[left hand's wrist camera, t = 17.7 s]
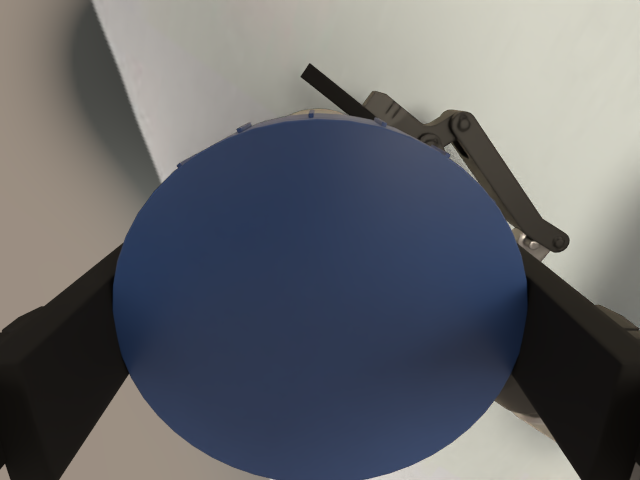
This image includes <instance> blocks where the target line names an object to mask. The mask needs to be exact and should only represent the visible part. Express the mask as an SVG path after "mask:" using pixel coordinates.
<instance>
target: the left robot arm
mask: <svg viewBox="0 0 640 480" xmlns="http://www.w3.org/2000/svg"><path fill="white" fill-rule="evenodd" d="M516 243H517V242H516ZM517 245H518V248H519V251H520V253H521V256H522V261H523V265H524V270H525V275H526V280H527V297H528V310H527V316H526V322H525V328H524V333H523V338H522V343H521V348H520V353H519V355H518V358H517V360H516V363H515V365H514V368H513V370H512V372H511V374H512V376H513V377H514V379H515V380H516V382H517V383H518V385H519V386H520V388H521V389H522V391H523V392H524V394H525V395H526V397H527V398H528V400H529V401H530V403H531V404H532V406H533V407H534V409H535V410H536V412H537V414H538V415H539V417H540V418H541V420H542V421H543V423H544V424H545V426H546V427H547V429H548V430H549V432H550V433H551V435H552V436H553V438H554V439H555V441H556V442H557V444H558V445H559V447H560V448H561V450H562V451H563V453H564V454H565V456H566V457H567V459H568V460H569V462H570V463H571V465H572V466H573V468H574V469H575V471H576V472H577V474H578V476H579V477H580V479H581V480H630V478H631V475H632V472H633V469H634V466H635V463H637V464H638V465H639V466H640V331H639V328H638V327H636V326H635V325H634V324H632V323H631V322H630V321H628V320H627V319H626V318H624V317H623V316H622V315H620V314H617V313H615V312H613V311H611V310H609V309H607V308H605V307H603V306H601V305H594V304H593V303H591V302H590V301H589V300H588V299H586V298H585V297H584V296H583V295H581V294H580V293H579V292H578V291H576V290H575V289H574V288H573V287H571V286H570V285H569V284H568V283H566V282H565V281H564V280H563V279H561V278H560V277H559V276H558V275H557V274H555V273H554V272H553V271H552V270H550V269H549V268H548V267H547V266H545V265H544V264H543V263H542V262H540V261H539V260H538V259H537V258H535V257H534V256H533V255H532V254H530V253H529V252H528V251H527V250H525V249H524V248H523V247H522V246H520V245H519V244H518V243H517ZM122 246H123V243H122V244H121V245H120V246H119V247H117V248H116V249H115V250H114V251H112V252H111V253H110V254H109V255H107V256H106V257H105V258H104V259H102V260H101V261H100V262H99V263H98V264H96V265H95V266H94V267H93V268H91V269H90V270H89V271H88V272H86V273H85V274H84V275H83V276H81V277H80V278H79V279H78V280H76V281H75V282H74V283H73V284H71V285H70V286H69V287H68V288H66V289H65V290H64V291H63V292H61V293H60V294H59V295H58V296H56V297H55V298H54V299H53V300H51V301H50V302H49V303H48V304H46V305H45V306H41V307H39V308H37V309H35V310H33V311H31V312H29V313H26V314H24V315H22V316H20V317H18V318H17V319H16V320H14V321H13V322H12V323H11V324H9V325H8V326H7V327H5V328H4V329H3V330H2V333H0V469H1V468H2V467H3V465H4V464H5V465H6V467H7V471H8V474H9V476H10V479H11V480H59V479H60V477H61V476H62V474H63V473H64V471H65V470H66V468H67V467H68V465H69V464H70V462H71V461H72V459H73V458H74V456H75V455H76V453H77V452H78V450H79V449H80V447H81V446H82V444H83V443H84V441H85V440H86V438H87V437H88V435H89V434H90V432H91V431H92V429H93V428H94V426H95V425H96V423H97V421H98V420H99V418H100V417H101V415H102V414H103V412H104V411H105V409H106V408H107V406H108V405H109V403H110V402H111V400H112V399H113V397H114V396H115V394H116V393H117V391H118V390H119V388H120V387H121V385H122V384H123V382H124V381H125V379H126V378H127V376H128V375H129V372H128V369H127V367H126V365H125V363H124V360H123V358H122V355H121V352H120V347H119V342H118V338H117V333H116V327H115V321H114V316H113V283H114V277H115V272H116V266H117V261H118V258H119V255H120V252H121V249H122Z"/></svg>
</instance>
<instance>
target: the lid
mask: <svg viewBox="0 0 640 480" xmlns="http://www.w3.org/2000/svg"><path fill="white" fill-rule="evenodd" d="M449 157H450V154H449V153H447V152H445V151H443V150H441V149H440V148H438V147H436V146H434V145H431V146H429V145H427V144H425V143H423V142H422V141H420V140H418V139H416V138H414V137H412V136H410V135H408V134H406V133H404V132H402V131H400V130H398V129H396V128H394V127H391V126H388V125H387V123H386V122H384V121H382V120H381V119H379V118H376V117H375V118H374V121H373V120H370V119H365V118H360V117H355V116H349V115H344V114H326V113H314V110H310V111H309V114H300V115H290V116H285V117H281V118H276V119H272V120H267V121H263V122H261V123H258V124H255V125H253V126H252V125H251V123H247V124H245V125H243V126H241V127H239V128H238V129H237V132H236V133H234V134H232V135H230V136H228V137H227V138H225V139H223V140H221V141H219V142H217V143H216V144H214V145H212V146H210V147H208V148H207V149H205V150H203V151H201V152H200V153H198V154H195V155H193V156H191V157H190V158H188V159H186V160H184V161H182V162H181V163H179V164H178V165H177V167H178V169H176V170H175V171H174V172H173V173H172V174H171V175H170V176H169V177H168V178H167V179H166V180H165V181H164V182H163V183H162V184H161V185H160V186H159V187H158V188H157V189H156V190H155V191H154V192H153V194H152V195H151V196H150V198H149V199H148V200H147V202H146V203H145V204H144V206H143V207H142V209H141V210H140V211H139V212H138V214H137V216H136V218H135V220H134V222H133V224H132V226H131V227H130V229H129V231H128V233H127V235H126V237H125V240H124V243H123V246H122V249H121V252H120V255H119V258H118V261H117V266H116V272H115V277H114V283H113V316H114V321H115V327H116V333H117V338H118V342H119V347H120V352H121V355H122V358H123V360H124V363H125V365H126V367H127V369H128V372H129V374H130V376H131V378H132V380H133V381H134V383H135V385H136V386H137V388H138V390H139V391H140V393H141V395H142V396H143V398H144V399H145V400H146V401H147V403H148V404H149V405H150V406H151V408H152V409H153V410H154V412H155V413H156V414H157V415H158V416H159V417H160V418H161V419H162V420H163V421H164V422H165V423H166V424H167V425H168V426H169V427H170V428H171V429H172V430H173V431H174V432H175V433H177V434H178V435H179V436H181V437H182V438H183V439H185V440H186V441H187V442H188V443H190V444H191V445H193V446H194V447H196V448H197V449H199V450H201V451H202V452H204V453H206V454H207V455H209V456H211V457H212V458H214V459H217V460H219V461H221V462H223V463H225V464H227V465H229V466H232V467H234V468H237V469H240V470H243V471H246V472H248V473H251V474H254V475H258V476H262V477H266V478H271V479H275V480H365V479H370V478H374V477H378V476H382V475H385V474H389V473H392V472H395V471H398V470H400V469H403V468H406V467H408V466H411V465H413V464H415V463H417V462H419V461H421V460H423V459H425V458H427V457H429V456H431V455H433V454H435V453H436V452H438V451H439V450H441V449H443V448H444V447H446V446H447V445H449V444H450V443H452V442H453V441H454V440H456V439H457V438H458V437H459V436H461V435H462V434H463V433H464V432H466V431H467V430H468V429H469V428H470V427H471V426H472V425H473V424H474V423H475V422H476V421H477V420H478V419H479V418H480V417H481V416H482V415H483V414H484V413H485V412H486V411H487V409H488V408H489V407H490V405H491V404H492V403H493V402H494V400H495V399H496V398H497V396H498V395H499V394H500V392H501V390H502V388H503V387H504V385H505V383H506V381H507V380H508V378H509V376H510V375H511V372H512V370H513V368H514V365H515V363H516V360H517V358H518V355H519V353H520V348H521V343H522V338H523V333H524V328H525V322H526V316H527V310H528V297H527V280H526V275H525V270H524V265H523V261H522V256H521V253H520V251H519V248H518V245H517V243H516V240H515V237H514V234H513V232H512V230H511V228H510V227H509V225H508V223H507V221H506V219H505V218H504V216H503V214H502V212H501V211H500V209H499V207H498V206H497V205H496V202H495V201H494V200H493V199H492V198H491V197H490V196H489V195H488V193H487V192H486V191H485V190H484V188H483V187H482V186H481V185H480V184H479V183H478V182H477V181H476V180H475V179H473V178H472V177H471V176H470V175H469V174H468V173H467V172H466V171H465V170H464V169H463V168H462V167H461V166H459V165H458V164H456V163H455V162H453V161H452V160H451V159H449Z"/></svg>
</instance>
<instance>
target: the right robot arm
mask: <svg viewBox="0 0 640 480" xmlns="http://www.w3.org/2000/svg"><path fill="white" fill-rule="evenodd" d="M301 78H303V79H304V80H305V81H306V82H308V83H309V84H310V85H312V86H313V87H314V88H315V89H317V90H318V91H319V92H320V93H322V94H323V95H324V96H325V97H327V98H328V99H329V100H330V101H332V102H333V103H334V104H336V105H337V106H338V107H339V108H341V109H342V110H343V111H344V112H346V113H347V114H348V115H349V116H355V117H360V118H365V119H370V120H373V121H374V118H375V117H376V118H379V119H381V120H382V121H384V122H386V123H387V125H388V126H391V127H394V128H396V129H398V130H400V131H402V132H404V133H406V134H408V135H410V136H412V137H414V138H416V139H418V140H420V141H422V142H423V143H425V144H427V145H429V146H431V145H434V146H436V147H438V148H440V149H441V150H443V151H445V150H444V147H445V146H447V145H448V144H450V143H451V144H452V145H453V146H454V148H455V149H456V151H457V152H458V154H459V155H460V156H461V158H462V159H463V161H464V162H465V164H466V165H467V166H468V168H469V169H470V171H471V172H472V174H473V175H474V176H475V178H476V179H477V181H478V182H479V184H480V185H481V186H482V187H483V188H484V190H485V191H486V192H487V193H488V195H489V196H490V197H491V198H492V199H493V200H494V201H495V202H496V205H497V206H498V207H499V209H500V211H501V212H502V214H503V216H504V218H505V219H506V220H507V221H508V222H509V223H510V224H511V225H513V226H514V227H515V228H514V229H512V232H513V234H514V237H515V240H516V242H517V243H518V244H519V245H520V246H522V247H523V248H524V249H525V250H527V251H528V252H529V253H530V254H532V255H533V256H534V257H535V258H537V259H538V260H539V261H540V262H541V261H542V260H543V259H544V258H545V256H546V255H547V254H548V253H549V251H552V252H555V253H556V252H561V251H564V250H565V249H566V248H567V246H568V245H569V236H568V235H567V234H566V233H564V232H563V231H561V230H559V229H558V228H556V227H555V226H553V225H552V224H550V223H548V222H547V221H545V220H544V219H542V217H541V216H540V214H539V213H538V211H537V210H536V208H535V207H534V205H533V204H532V202H531V201H530V199H529V198H528V196H527V195H526V193H525V192H524V190H523V189H522V187H521V186H520V184H519V183H518V181H517V180H516V178H515V177H514V175H513V174H512V173H511V171H510V170H509V168H508V167H507V165H506V164H505V162H504V161H503V159H502V158H501V156H500V155H499V153H498V152H497V150H496V149H495V147H494V146H493V144H492V143H491V141H490V140H489V138H488V137H487V135H486V134H485V132H484V131H483V129H482V128H481V126H480V125H479V123H478V122H477V120H476V119H475V117H474V116H473V115H472V114H471V113H469V112H465V111H458V110H447V111H445V112H443V113H442V114H441V116H440V117H438V118H437V119H435V120H434V121H432V122H430V123H427V124H422V123H421V122H419V121H418V120H417V119H416V118H414V117H413V116H412V115H411V114H410V113H408V112H407V111H406V110H405V109H404V108H402V107H401V106H400V105H399V104H397V103H396V102H395V101H394V100H393V99H391V98H390V97H389V96H388V95H387V94H384V93H380V92H377V91H372V92H371V94H370V95H369V96H368V98H367V99H366V100H365V102H364V103H363V104H362V105H361V104H360V103H359V102H357V101H356V100H355V99H354V98H352V97H351V96H350V95H349V94H347V93H346V92H345V91H344V90H342V89H341V88H340V87H339V86H337V85H336V84H335V83H334V82H333V81H331V80H330V79H329V78H328V77H326V76H325V75H324V74H323V73H321V72H320V71H319V70H318V69H316V68H315V67H314V66H313V65H311V64H310V63H309V65H308V66H307V68H306V69H305V71H304V72H303V74H302V75H301ZM494 401H495V402H497V403H498V404H500V405H501V406H503V407H504V408H506V409H508V410H510V411H512V412H513V413H514V414H515V415H516V416H517V417H518V418H520V419H522V420H523V421H525V422H526V423H528V424H529V425H531V426H532V427H534V428H535V429H537V430H538V431H540V432H541V433H543V434H544V435H546V436H547V437H549V438H551V439H552V440H554V441H555V439H554V438H553V436H552V435H551V433H550V432H549V430H548V429H547V427H546V426H545V424H544V423H543V421H542V420H541V418H540V417H539V415H538V414H537V412H536V410H535V409H534V407H533V406H532V404H531V403H530V401H529V400H528V398H527V397H526V395H525V394H524V392H523V391H522V389H521V388H520V386H519V385H518V383H517V382H516V380H515V379H514V377H513V376H512V374H511V375H510V376H509V378H508V380H507V381H506V383H505V385H504V387H503V388H502V390H501V392H500V394H499V395H498V396H497V398H496V399H495V400H494ZM555 442H556V441H555ZM630 480H640V466H639V465H638V464H637V463H635V466H634V469H633V472H632V475H631V478H630Z"/></svg>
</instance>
